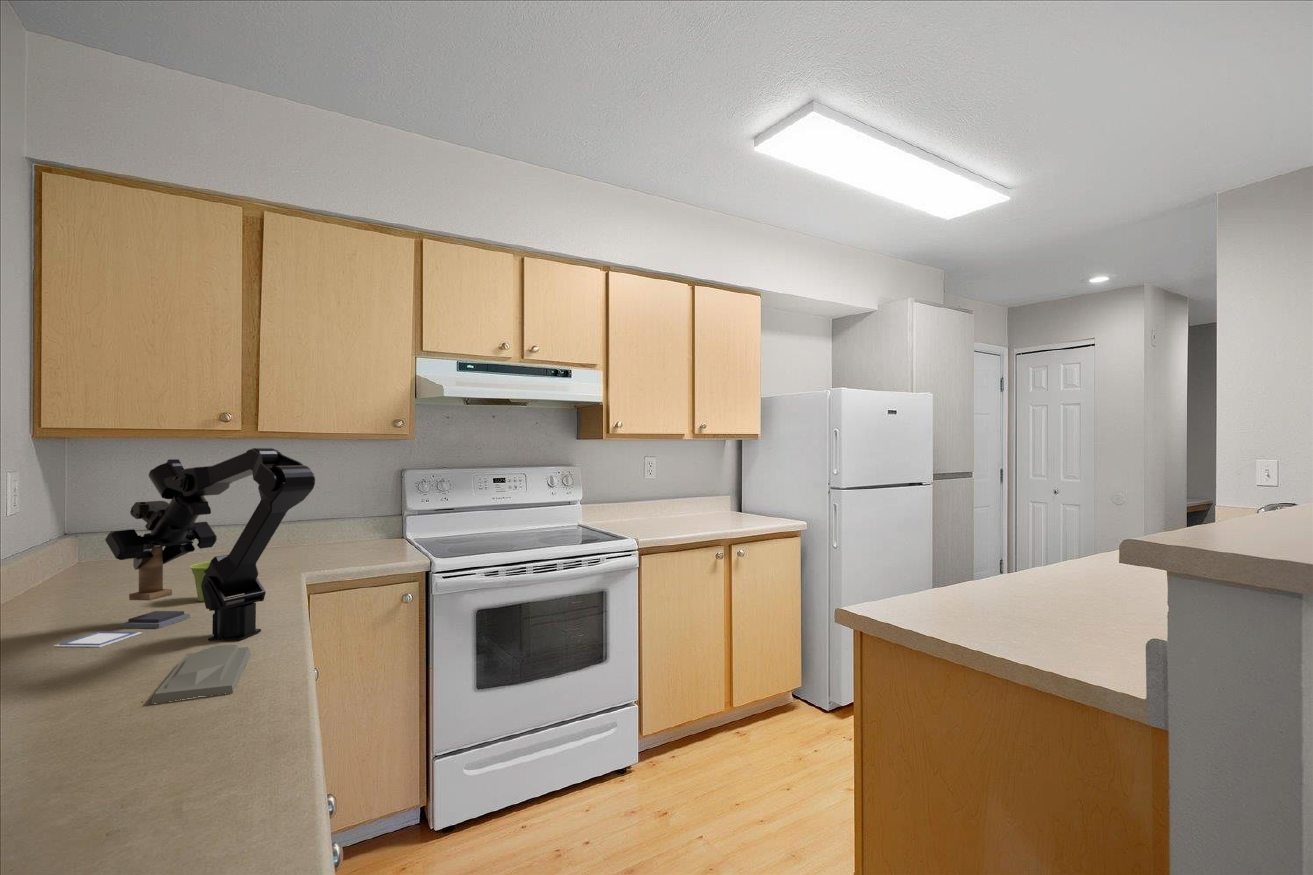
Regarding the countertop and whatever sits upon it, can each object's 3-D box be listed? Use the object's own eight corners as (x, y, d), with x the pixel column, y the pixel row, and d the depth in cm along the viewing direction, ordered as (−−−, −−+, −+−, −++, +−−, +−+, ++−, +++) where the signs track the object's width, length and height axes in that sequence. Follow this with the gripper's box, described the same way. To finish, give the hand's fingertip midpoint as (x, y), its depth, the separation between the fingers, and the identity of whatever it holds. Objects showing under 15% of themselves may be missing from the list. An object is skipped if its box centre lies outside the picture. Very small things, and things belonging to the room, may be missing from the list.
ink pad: (189, 617, 136) (189, 610, 136) (159, 628, 128) (159, 620, 128) (154, 617, 137) (154, 610, 137) (121, 627, 129) (122, 619, 129)
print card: (141, 633, 125) (141, 631, 125) (99, 647, 116) (99, 645, 116) (99, 632, 125) (99, 630, 125) (53, 646, 116) (53, 644, 116)
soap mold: (148, 710, 89) (148, 685, 89) (183, 666, 107) (183, 645, 107) (233, 697, 94) (234, 673, 94) (253, 657, 112) (253, 637, 112)
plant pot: (212, 604, 148) (212, 568, 148) (179, 602, 150) (180, 566, 150) (245, 595, 157) (245, 561, 157) (214, 593, 159) (214, 560, 159)
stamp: (171, 594, 134) (171, 538, 134) (149, 600, 129) (149, 541, 130) (152, 594, 135) (151, 538, 135) (129, 600, 130) (129, 541, 130)
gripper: (208, 485, 140) (176, 533, 144) (110, 490, 123) (77, 545, 126) (232, 520, 137) (199, 569, 141) (136, 531, 120) (101, 585, 123)
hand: (146, 566), depth 133 cm, fingers closed on stamp, 4 cm apart
